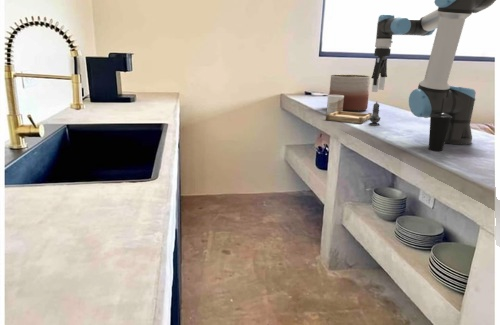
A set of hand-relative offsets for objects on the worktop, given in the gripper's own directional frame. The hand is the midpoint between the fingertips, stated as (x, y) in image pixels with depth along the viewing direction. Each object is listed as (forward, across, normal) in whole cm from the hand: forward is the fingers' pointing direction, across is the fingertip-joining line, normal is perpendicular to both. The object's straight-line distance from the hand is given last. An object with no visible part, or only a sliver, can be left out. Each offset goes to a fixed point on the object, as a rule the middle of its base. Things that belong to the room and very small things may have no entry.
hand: (377, 90), depth 191 cm
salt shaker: (+18, 0, 0) cm, 18 cm away
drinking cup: (+17, -42, -34) cm, 57 cm away
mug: (+18, +24, +30) cm, 42 cm away
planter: (+18, +45, +29) cm, 56 cm away
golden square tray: (+18, +7, +16) cm, 25 cm away
